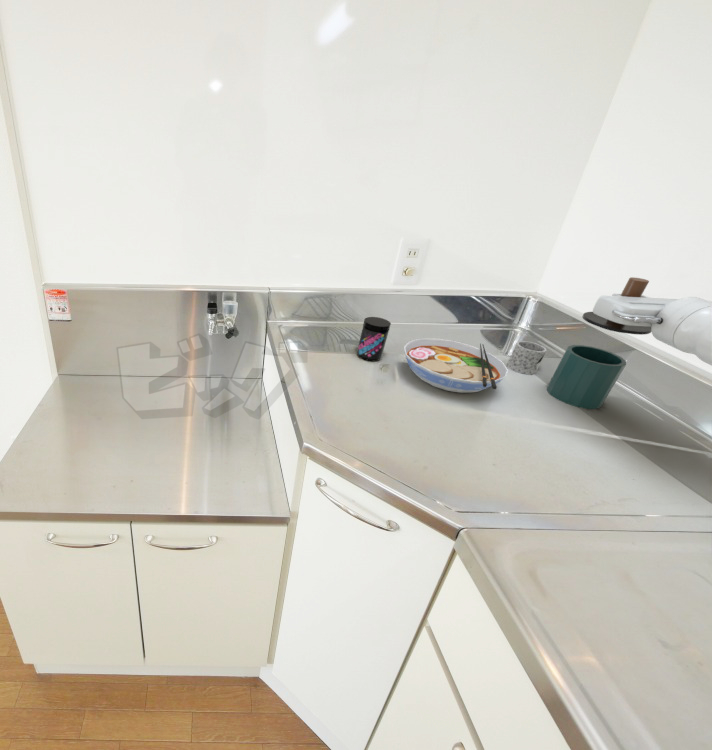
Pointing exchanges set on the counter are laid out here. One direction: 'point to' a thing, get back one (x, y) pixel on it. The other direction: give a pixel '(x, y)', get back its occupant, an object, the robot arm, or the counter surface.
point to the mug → (526, 357)
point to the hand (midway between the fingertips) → (625, 298)
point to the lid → (631, 289)
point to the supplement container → (373, 338)
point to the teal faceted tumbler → (585, 376)
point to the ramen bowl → (454, 365)
